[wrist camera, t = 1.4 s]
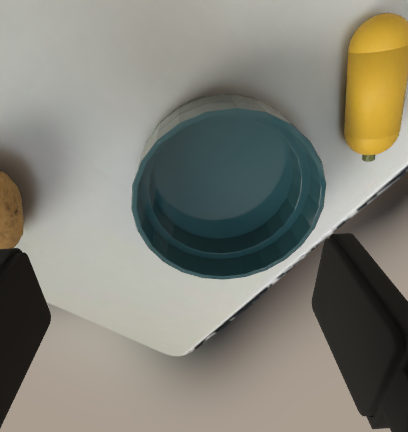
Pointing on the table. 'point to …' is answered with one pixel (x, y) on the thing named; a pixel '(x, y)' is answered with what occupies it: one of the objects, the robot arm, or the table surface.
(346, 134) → the squash
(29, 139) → the table surface
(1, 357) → the robot arm
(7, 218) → the potato
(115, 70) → the table surface
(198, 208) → the teal shallow dish
